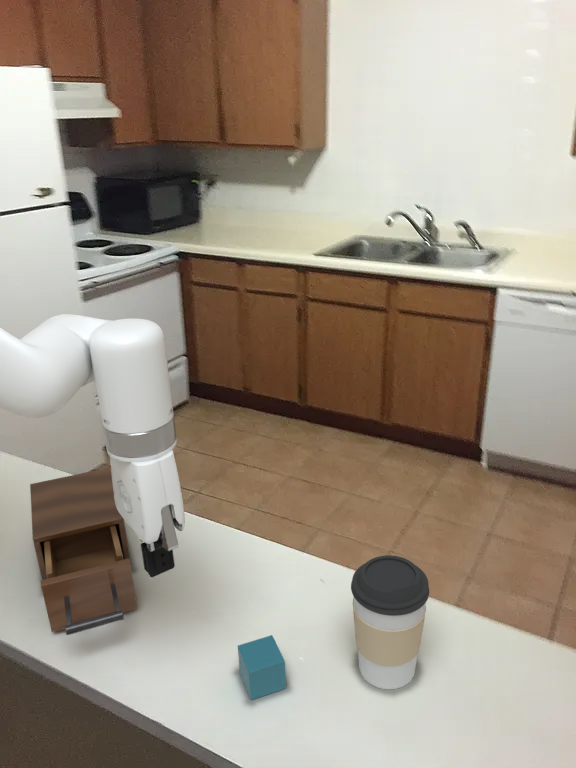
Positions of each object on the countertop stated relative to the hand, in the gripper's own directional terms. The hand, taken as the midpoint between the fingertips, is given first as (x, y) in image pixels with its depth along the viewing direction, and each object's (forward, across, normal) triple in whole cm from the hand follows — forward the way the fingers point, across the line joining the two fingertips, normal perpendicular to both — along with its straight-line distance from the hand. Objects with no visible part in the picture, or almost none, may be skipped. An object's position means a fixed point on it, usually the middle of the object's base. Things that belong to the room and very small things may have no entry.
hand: (159, 569), depth 80 cm
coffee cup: (+15, +17, +21) cm, 31 cm away
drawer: (+13, -15, -5) cm, 21 cm away
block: (+14, +10, +8) cm, 19 cm away
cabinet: (+14, -28, -2) cm, 32 cm away
